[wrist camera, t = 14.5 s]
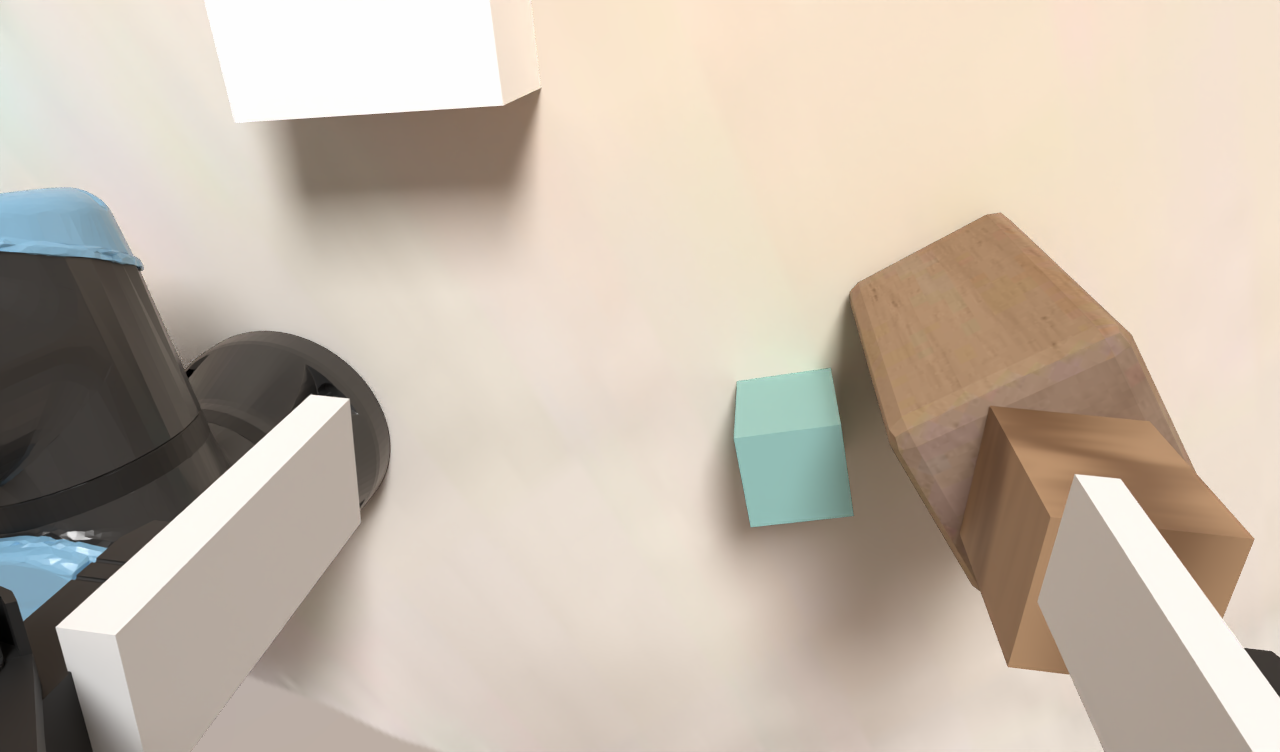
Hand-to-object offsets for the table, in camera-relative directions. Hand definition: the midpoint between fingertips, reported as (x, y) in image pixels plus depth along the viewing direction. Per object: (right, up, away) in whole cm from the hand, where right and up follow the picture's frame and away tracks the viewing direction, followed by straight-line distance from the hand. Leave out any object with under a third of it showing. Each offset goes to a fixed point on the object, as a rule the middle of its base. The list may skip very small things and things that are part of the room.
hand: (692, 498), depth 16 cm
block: (+18, +6, +38) cm, 42 cm away
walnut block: (+16, -2, +19) cm, 25 cm away
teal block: (+9, 0, +42) cm, 43 cm away
